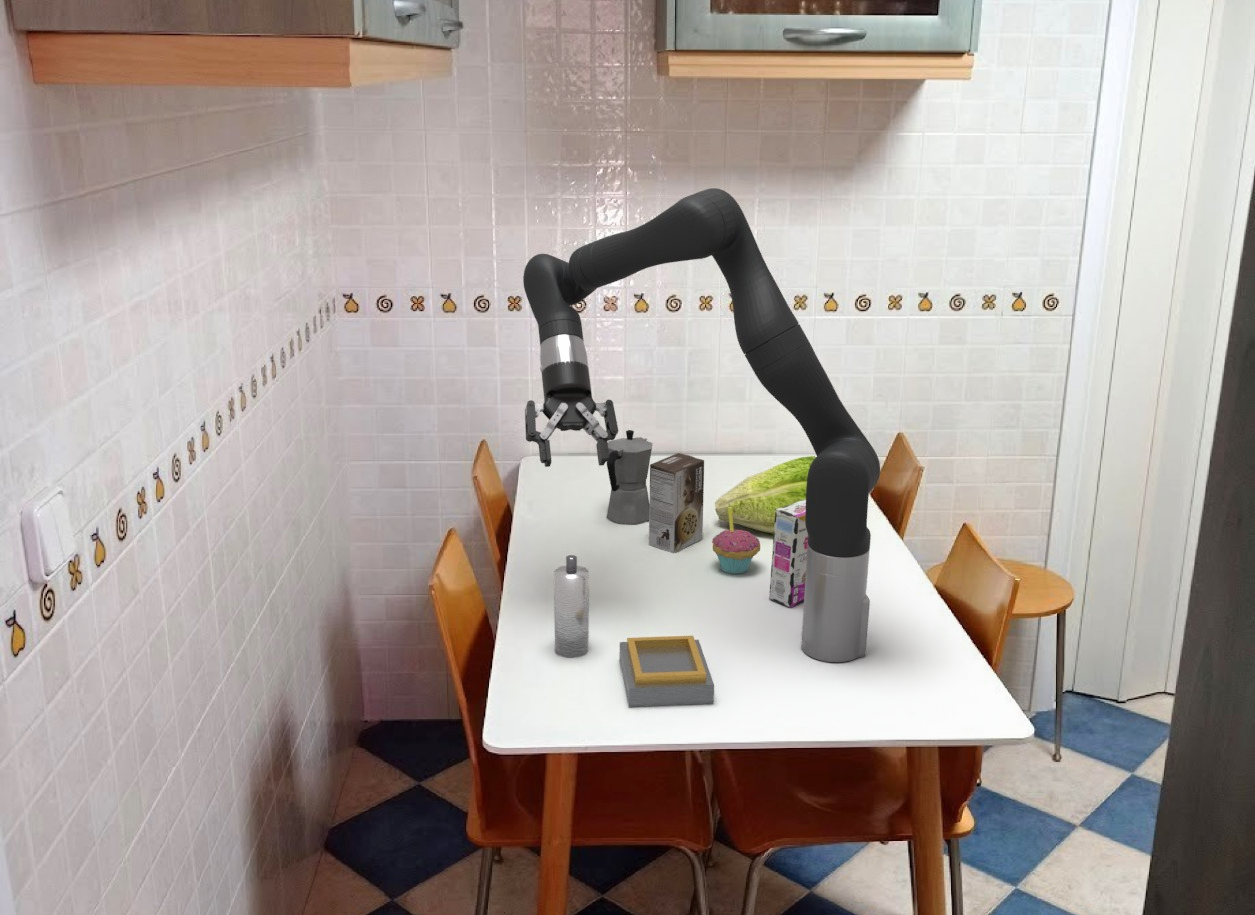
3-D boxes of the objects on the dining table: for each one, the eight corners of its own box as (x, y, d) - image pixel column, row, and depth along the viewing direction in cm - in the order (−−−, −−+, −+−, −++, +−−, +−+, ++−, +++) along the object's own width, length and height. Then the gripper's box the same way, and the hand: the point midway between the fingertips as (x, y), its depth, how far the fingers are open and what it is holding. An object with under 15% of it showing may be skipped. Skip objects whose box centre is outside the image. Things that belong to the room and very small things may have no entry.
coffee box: (676, 531, 232) (678, 451, 227) (703, 539, 228) (706, 459, 223) (646, 545, 226) (648, 463, 220) (674, 553, 222) (676, 470, 217)
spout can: (587, 641, 188) (587, 550, 183) (589, 656, 183) (590, 563, 178) (553, 642, 187) (553, 551, 182) (555, 658, 182) (554, 564, 178)
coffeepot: (622, 502, 247) (623, 418, 241) (664, 510, 243) (666, 425, 237) (586, 527, 234) (587, 438, 228) (630, 535, 230) (631, 445, 224)
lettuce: (725, 564, 229) (734, 544, 245) (850, 530, 224) (851, 512, 239) (702, 491, 228) (712, 475, 243) (827, 456, 222) (829, 441, 237)
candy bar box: (791, 609, 200) (797, 517, 195) (768, 600, 203) (773, 509, 198) (832, 590, 207) (838, 501, 202) (808, 581, 211) (814, 493, 205)
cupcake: (701, 568, 215) (703, 505, 212) (731, 555, 221) (733, 494, 218) (739, 582, 210) (742, 518, 206) (768, 568, 216) (772, 505, 212)
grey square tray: (697, 657, 183) (698, 632, 182) (713, 703, 170) (714, 677, 169) (619, 660, 182) (619, 635, 181) (628, 707, 169) (629, 680, 167)
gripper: (524, 359, 186) (533, 456, 180) (613, 359, 189) (626, 453, 183) (517, 381, 192) (526, 474, 186) (603, 380, 196) (615, 472, 190)
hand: (575, 464), depth 185 cm, fingers open, 8 cm apart
